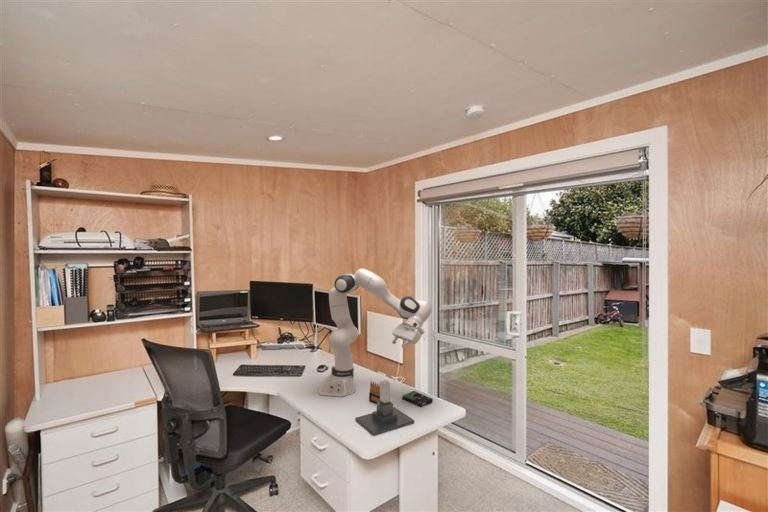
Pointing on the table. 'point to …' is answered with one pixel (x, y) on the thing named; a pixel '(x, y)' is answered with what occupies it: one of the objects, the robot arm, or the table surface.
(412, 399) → the disk drive
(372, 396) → the ammunition clip
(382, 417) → the metal stepped base
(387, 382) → the column
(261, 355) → the table surface
